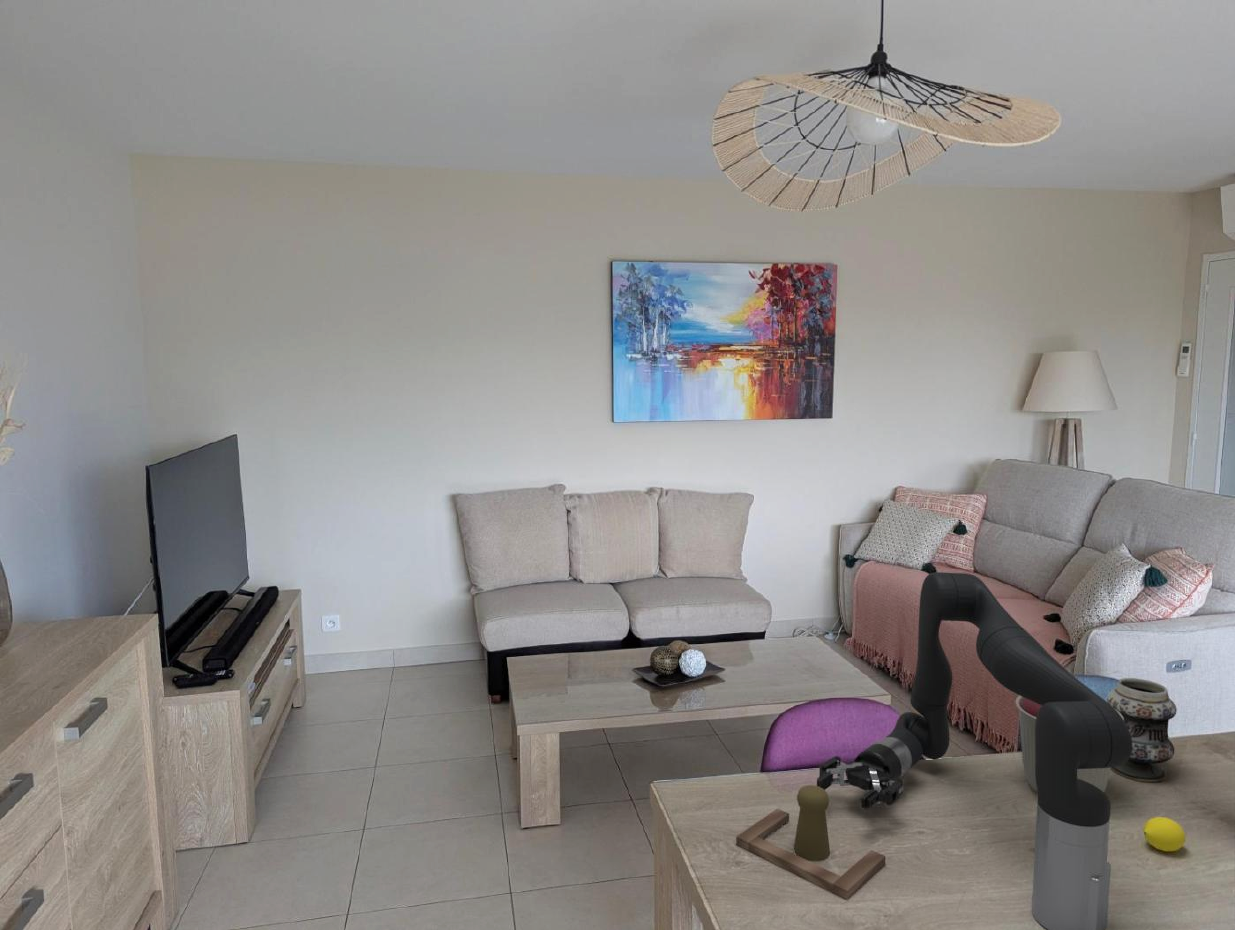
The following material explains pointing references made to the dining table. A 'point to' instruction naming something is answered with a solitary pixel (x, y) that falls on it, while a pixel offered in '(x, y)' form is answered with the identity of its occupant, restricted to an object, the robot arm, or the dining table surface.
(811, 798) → the cork
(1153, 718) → the apothecary jar
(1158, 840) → the lemon
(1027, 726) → the canister
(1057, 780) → the robot arm
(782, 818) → the walnut cradle
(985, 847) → the dining table surface
